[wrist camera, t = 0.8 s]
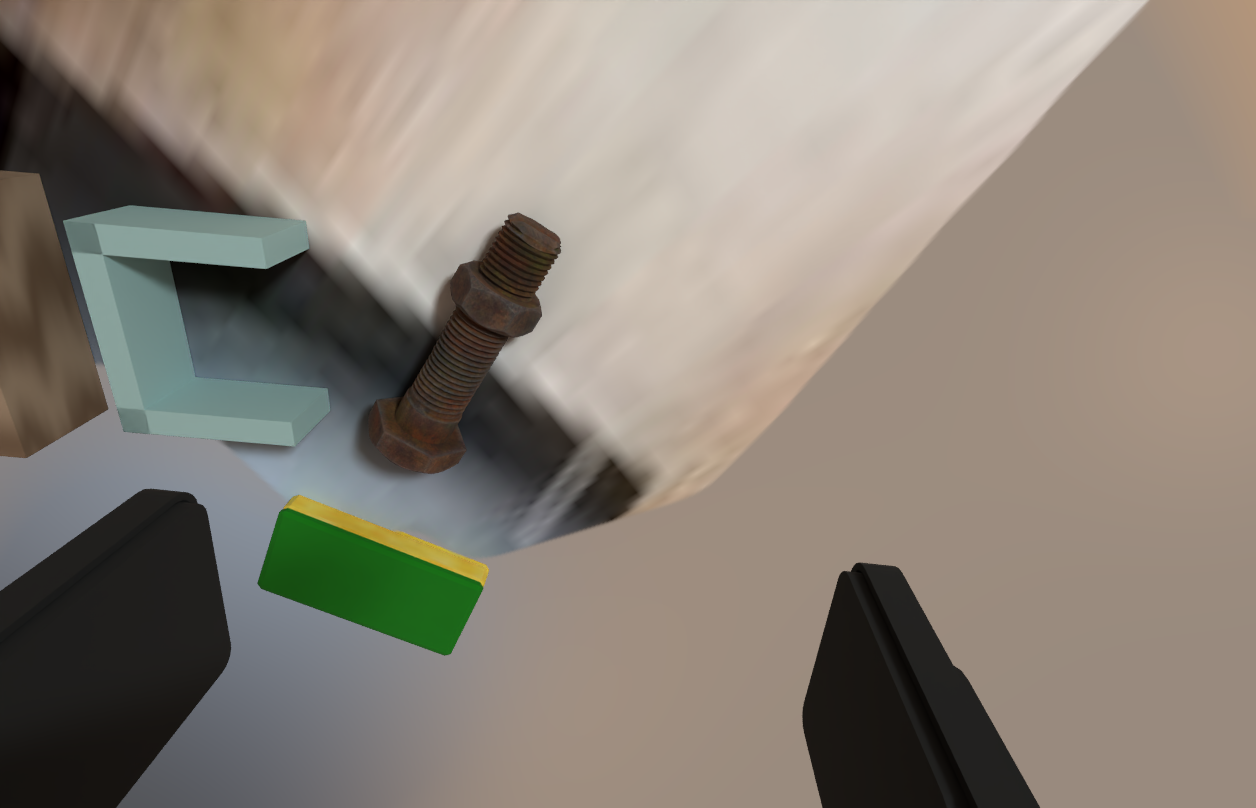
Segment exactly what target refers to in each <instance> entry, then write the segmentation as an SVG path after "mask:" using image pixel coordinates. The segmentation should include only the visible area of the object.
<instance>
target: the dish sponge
mask: <svg viewBox="0 0 1256 808" xmlns="http://www.w3.org/2000/svg"><path fill="white" fill-rule="evenodd" d="M488 572H489V569H488V567H487V565H486V564H483V563H481V562H478V561H475V560H473V559H470V558H468V557H465V556H463V555H460V554H458V553H455V552H453V551H450V550H447V549H445V548H442V547H440V546H437V545H435V544H432V543H429V542H427V541H424V540H422V539H419V538H417V537H414V536H411V535H409V534H407V533H404V532H402V531H395V532H393V531H391V530H388V529H385V528H383V527H380V526H378V525H375V524H373V523H370V522H367V521H365V520H362V519H360V518H357V517H355V516H352V515H350V514H347V513H344V512H342V511H339V510H337V509H334V508H332V507H329V506H326V505H324V504H321V503H319V502H316V501H314V500H311V499H308V498H306V497H303V496H301V495H298V496H294V497H292V499H291V500H290V501H289V502H288V503H287V504H286V505H285V507H284V509H283V510H281V511H280V512H279V515H278V518H277V521H276V524H275V528H274V531H273V534H272V537H271V541H270V544H269V547H268V551H267V554H266V557H265V561H264V564H263V567H262V570H261V574H260V577H259V580H258V585H259V586H260V588H261V589H264V590H266V591H269V592H271V593H274V594H277V595H280V596H283V597H285V598H288V599H291V600H293V601H296V602H299V603H302V604H304V605H307V606H310V607H313V608H315V609H318V610H321V611H324V612H326V613H330V614H332V615H335V616H337V617H340V618H343V619H346V620H348V621H351V622H354V623H357V624H360V625H362V626H365V627H368V628H370V629H373V630H376V631H379V632H381V633H384V634H387V635H390V636H392V637H395V638H398V639H401V640H404V641H406V642H409V643H411V644H414V645H417V646H420V647H422V648H425V649H428V650H431V651H433V652H436V653H439V654H442V655H449V654H451V652H452V650H453V648H454V646H455V644H456V642H457V640H458V638H459V636H460V634H461V632H462V630H463V628H464V626H465V624H466V622H467V620H468V618H469V616H470V614H471V612H472V610H473V608H474V606H475V604H476V602H477V600H478V598H479V596H480V594H481V592H482V590H483V586H484V584H485V581H486V578H487V575H488Z"/></svg>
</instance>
